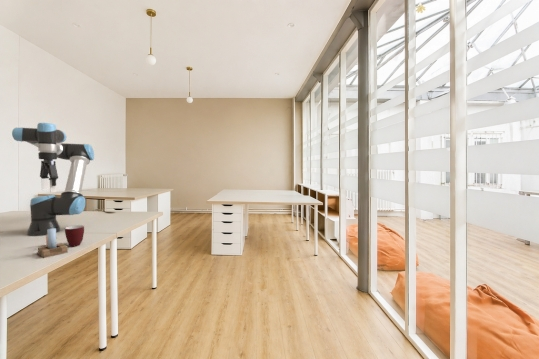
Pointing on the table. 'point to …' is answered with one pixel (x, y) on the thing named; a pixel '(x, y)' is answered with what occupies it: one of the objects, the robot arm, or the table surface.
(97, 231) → the table surface
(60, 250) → the socket block
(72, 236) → the mug
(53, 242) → the long peg
